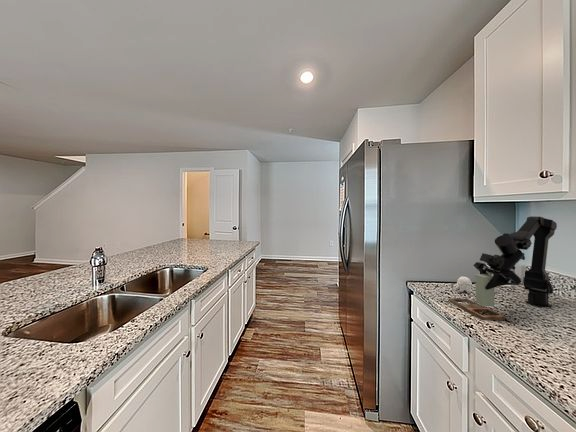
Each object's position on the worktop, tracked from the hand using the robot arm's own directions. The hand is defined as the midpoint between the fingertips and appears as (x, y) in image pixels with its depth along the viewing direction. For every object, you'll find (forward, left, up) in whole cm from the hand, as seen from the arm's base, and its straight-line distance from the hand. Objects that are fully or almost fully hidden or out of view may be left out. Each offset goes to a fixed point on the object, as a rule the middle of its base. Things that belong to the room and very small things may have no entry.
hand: (481, 287), depth 108 cm
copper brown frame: (-1, -6, -12) cm, 14 cm away
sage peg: (-1, 0, -7) cm, 7 cm away
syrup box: (-26, -31, -12) cm, 42 cm away
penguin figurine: (-14, -33, -12) cm, 38 cm away
